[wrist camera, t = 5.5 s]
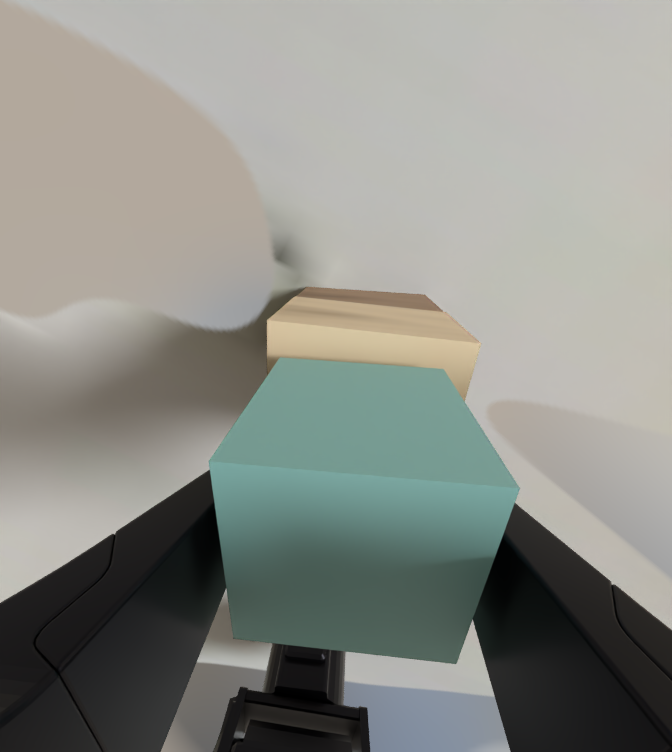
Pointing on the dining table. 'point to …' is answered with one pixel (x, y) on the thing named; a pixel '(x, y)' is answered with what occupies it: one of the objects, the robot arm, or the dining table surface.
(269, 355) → the tower top
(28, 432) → the dining table surface
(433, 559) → the teal cube
